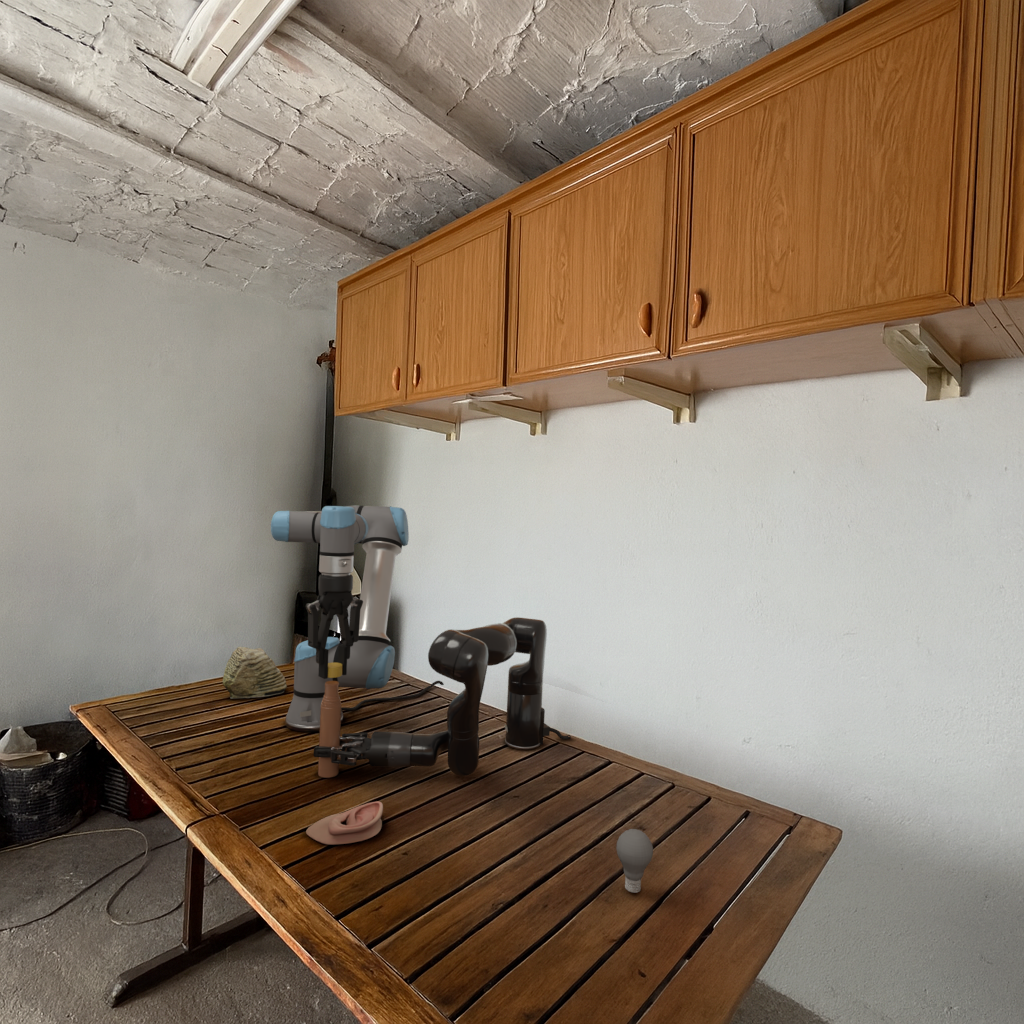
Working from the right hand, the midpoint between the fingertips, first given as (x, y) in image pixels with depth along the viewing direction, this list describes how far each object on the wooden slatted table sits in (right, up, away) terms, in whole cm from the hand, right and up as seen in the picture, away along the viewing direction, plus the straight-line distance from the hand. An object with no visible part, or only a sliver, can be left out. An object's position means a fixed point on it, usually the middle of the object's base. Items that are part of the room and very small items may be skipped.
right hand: (317, 747), depth 145 cm
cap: (+3, +18, 0) cm, 19 cm away
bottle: (+2, -6, 0) cm, 7 cm away
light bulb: (+65, -10, -39) cm, 76 cm away
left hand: (+3, +16, 0) cm, 17 cm away
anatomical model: (+13, -7, -24) cm, 28 cm away
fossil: (-36, -3, +53) cm, 64 cm away
